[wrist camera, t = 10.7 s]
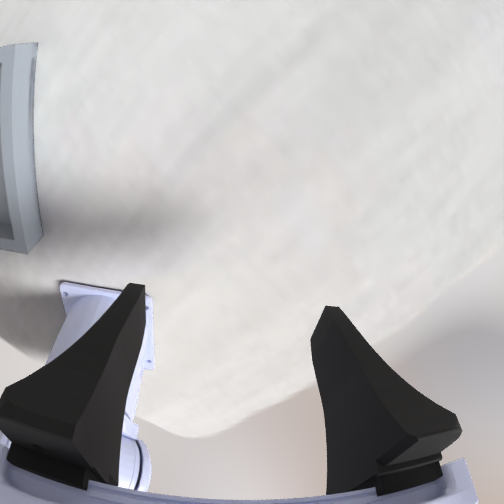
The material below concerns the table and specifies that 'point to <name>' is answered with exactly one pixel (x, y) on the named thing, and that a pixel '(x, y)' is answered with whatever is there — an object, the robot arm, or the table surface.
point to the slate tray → (18, 150)
